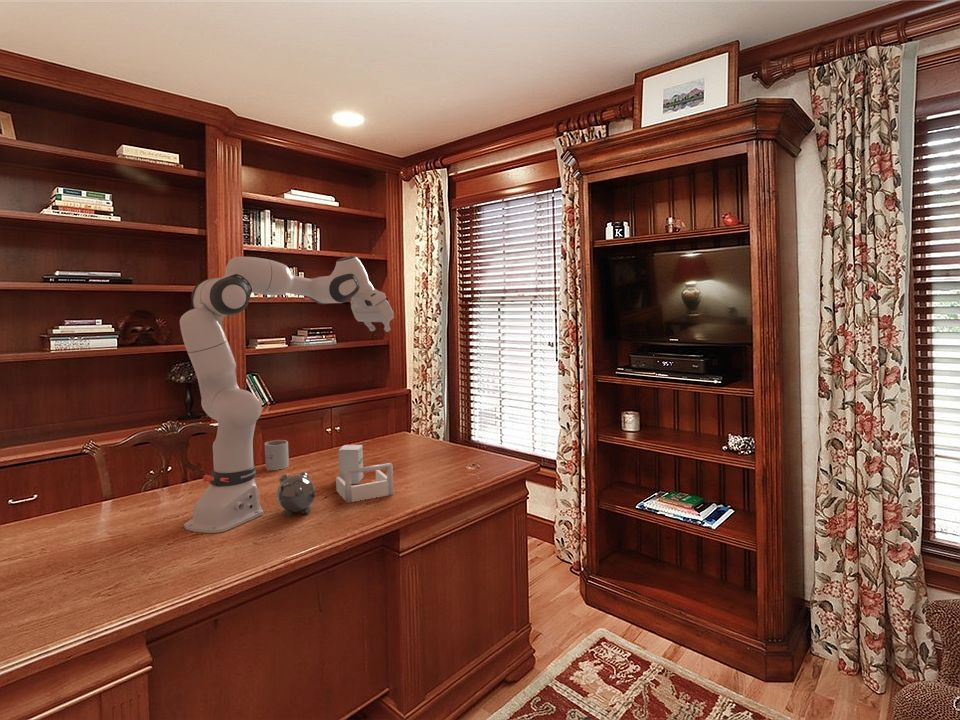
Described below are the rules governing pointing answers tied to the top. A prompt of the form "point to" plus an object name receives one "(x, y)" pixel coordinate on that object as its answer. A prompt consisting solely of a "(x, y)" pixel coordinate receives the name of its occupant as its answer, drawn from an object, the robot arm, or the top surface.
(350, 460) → the supplement box
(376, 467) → the frame
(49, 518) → the top surface
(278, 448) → the printed ceramic cup
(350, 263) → the robot arm
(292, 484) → the piggy bank
